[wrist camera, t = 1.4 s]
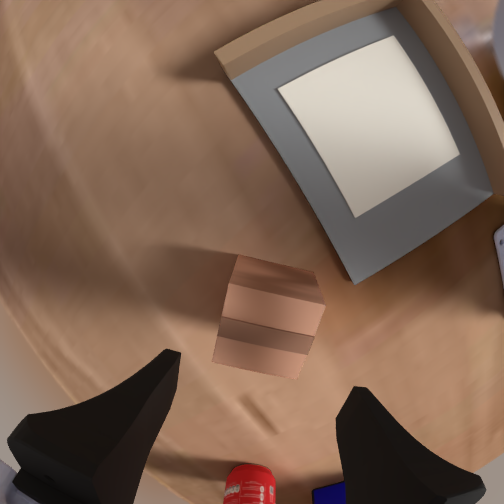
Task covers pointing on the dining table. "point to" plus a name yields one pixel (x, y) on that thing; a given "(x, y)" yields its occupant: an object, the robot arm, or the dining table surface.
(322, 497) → the puzzle cube
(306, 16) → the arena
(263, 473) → the beverage can
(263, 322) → the block
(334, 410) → the dining table surface
